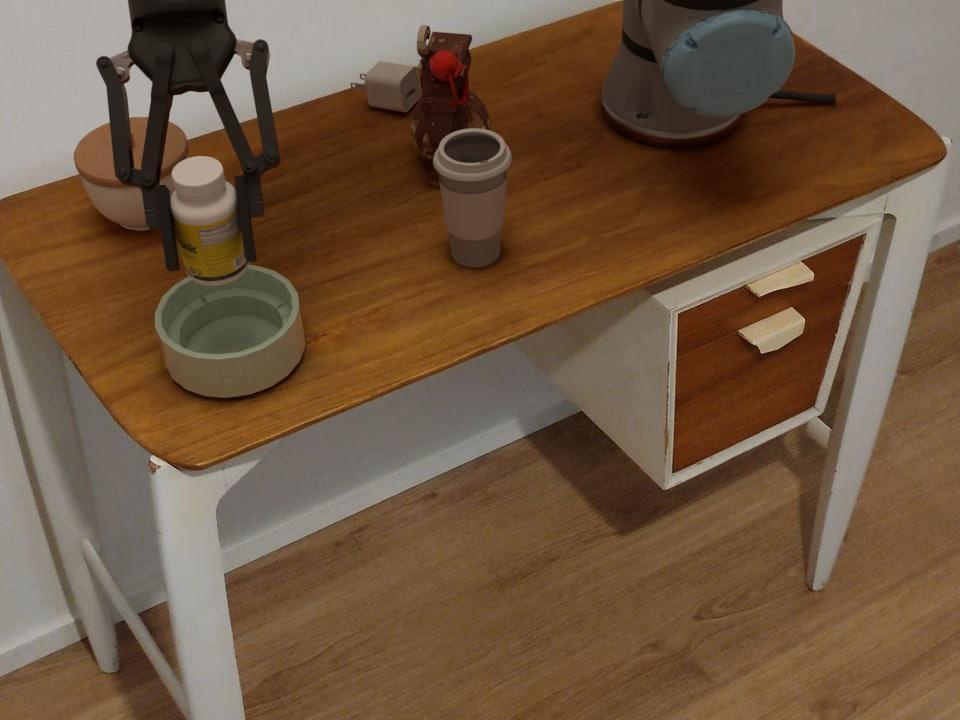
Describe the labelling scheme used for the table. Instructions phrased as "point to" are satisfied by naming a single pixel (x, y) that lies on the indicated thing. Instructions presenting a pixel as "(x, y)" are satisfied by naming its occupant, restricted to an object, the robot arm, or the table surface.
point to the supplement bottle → (207, 222)
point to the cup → (473, 193)
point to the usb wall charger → (391, 86)
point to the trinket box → (104, 185)
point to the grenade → (444, 95)
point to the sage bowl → (231, 333)
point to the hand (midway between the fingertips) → (212, 264)
